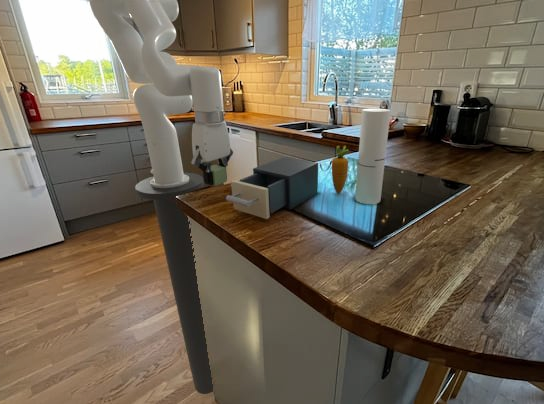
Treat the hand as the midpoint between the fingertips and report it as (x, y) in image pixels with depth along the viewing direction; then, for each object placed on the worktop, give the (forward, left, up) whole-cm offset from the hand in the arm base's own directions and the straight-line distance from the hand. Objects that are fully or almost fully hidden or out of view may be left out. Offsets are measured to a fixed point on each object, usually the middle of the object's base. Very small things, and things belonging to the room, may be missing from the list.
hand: (215, 180), depth 87 cm
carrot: (+29, +22, -5) cm, 37 cm away
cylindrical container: (+38, +23, -5) cm, 45 cm away
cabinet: (+17, +12, -5) cm, 21 cm away
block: (0, 0, 0) cm, 0 cm away
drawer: (+17, 0, -4) cm, 17 cm away
